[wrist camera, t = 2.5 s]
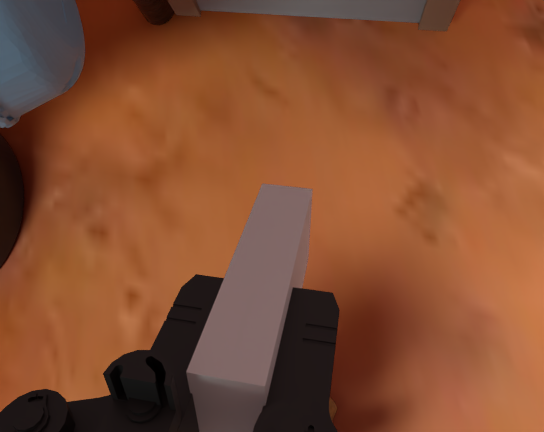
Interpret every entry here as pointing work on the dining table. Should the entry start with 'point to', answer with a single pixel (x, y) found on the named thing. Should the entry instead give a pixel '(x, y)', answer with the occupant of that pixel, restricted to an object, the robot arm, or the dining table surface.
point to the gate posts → (155, 10)
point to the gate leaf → (334, 9)
